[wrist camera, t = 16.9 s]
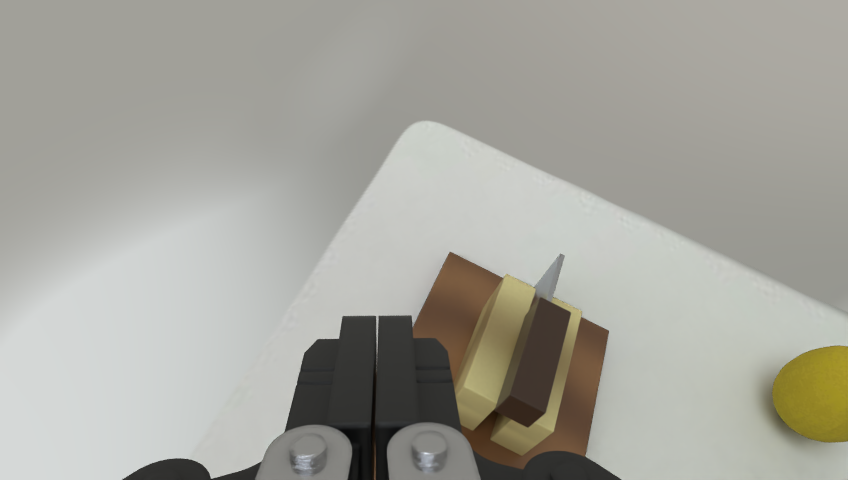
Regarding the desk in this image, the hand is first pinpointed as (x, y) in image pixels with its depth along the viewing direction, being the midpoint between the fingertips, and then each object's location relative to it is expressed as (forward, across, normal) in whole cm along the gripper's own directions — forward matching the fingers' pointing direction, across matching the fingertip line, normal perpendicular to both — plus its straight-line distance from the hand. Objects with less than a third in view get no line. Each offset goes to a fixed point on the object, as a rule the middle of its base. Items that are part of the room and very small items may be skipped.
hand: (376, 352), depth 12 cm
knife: (+17, -7, +12) cm, 23 cm away
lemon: (+19, -27, +18) cm, 38 cm away
